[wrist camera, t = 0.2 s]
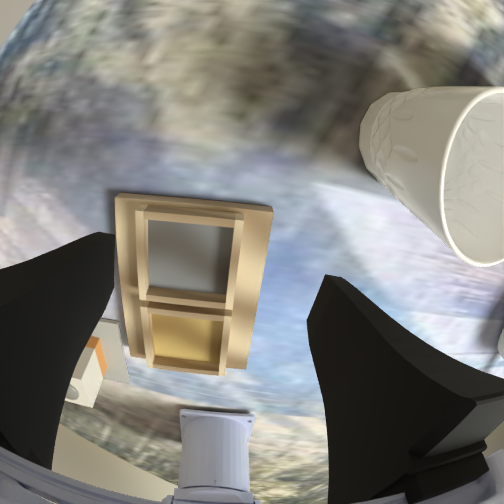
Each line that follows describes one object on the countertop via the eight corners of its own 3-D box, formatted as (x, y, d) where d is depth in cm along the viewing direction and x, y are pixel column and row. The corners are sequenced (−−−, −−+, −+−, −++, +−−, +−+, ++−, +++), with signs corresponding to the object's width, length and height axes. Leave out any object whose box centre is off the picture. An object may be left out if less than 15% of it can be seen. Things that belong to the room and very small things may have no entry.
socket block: (245, 360, 26) (246, 379, 24) (133, 348, 25) (127, 366, 23) (272, 206, 20) (275, 219, 18) (120, 192, 19) (107, 203, 17)
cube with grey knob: (107, 367, 26) (91, 409, 21) (71, 359, 25) (53, 398, 21) (99, 337, 24) (80, 381, 19) (62, 330, 24) (39, 370, 19)
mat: (130, 380, 27) (129, 383, 27) (62, 365, 27) (60, 368, 26) (118, 321, 24) (117, 324, 23) (41, 306, 23) (39, 309, 23)
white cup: (413, 214, 20) (498, 289, 12) (327, 160, 19) (402, 218, 10) (461, 127, 17) (565, 162, 8) (382, 60, 15) (489, 45, 7)
